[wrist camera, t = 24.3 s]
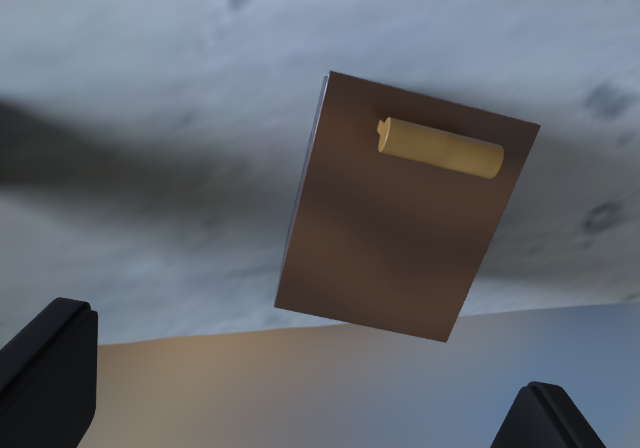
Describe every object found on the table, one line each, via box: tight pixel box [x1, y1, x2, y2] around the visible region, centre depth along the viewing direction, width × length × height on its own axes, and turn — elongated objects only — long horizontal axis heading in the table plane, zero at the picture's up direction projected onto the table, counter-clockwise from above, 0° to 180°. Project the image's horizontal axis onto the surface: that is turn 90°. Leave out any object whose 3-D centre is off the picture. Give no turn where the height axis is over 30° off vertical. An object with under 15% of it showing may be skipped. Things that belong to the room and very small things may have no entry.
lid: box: [274, 70, 541, 342], centre depth 25 cm, size 16×13×5 cm
